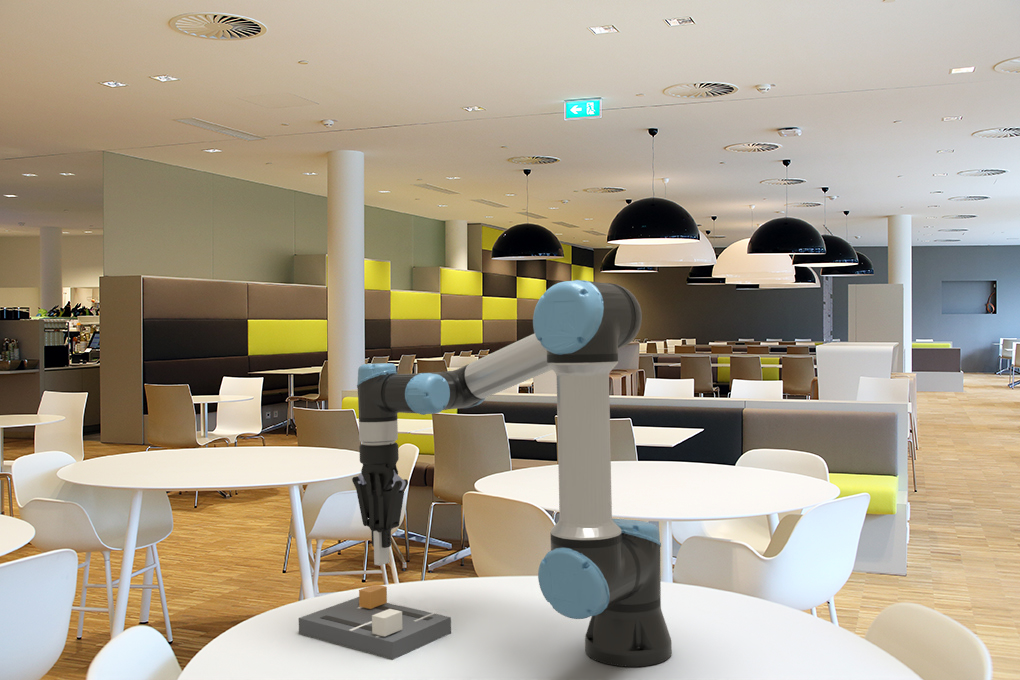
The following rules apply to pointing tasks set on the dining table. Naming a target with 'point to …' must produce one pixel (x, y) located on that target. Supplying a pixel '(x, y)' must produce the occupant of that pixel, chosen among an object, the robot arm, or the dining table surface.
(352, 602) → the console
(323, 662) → the dining table surface
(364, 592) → the fader orange
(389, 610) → the fader cream
